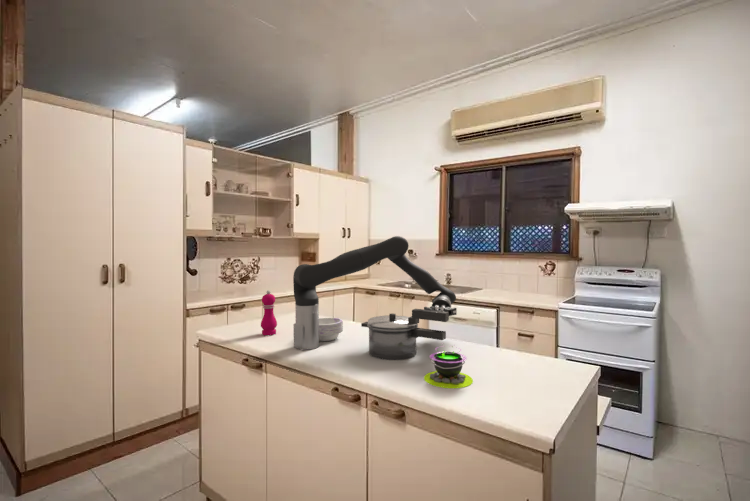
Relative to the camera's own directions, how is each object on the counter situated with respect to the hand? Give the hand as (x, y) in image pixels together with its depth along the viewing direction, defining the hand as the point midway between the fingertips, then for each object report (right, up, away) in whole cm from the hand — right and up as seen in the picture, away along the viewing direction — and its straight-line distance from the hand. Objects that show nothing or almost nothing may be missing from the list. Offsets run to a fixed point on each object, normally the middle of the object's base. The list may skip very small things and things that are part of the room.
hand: (438, 315), depth 140 cm
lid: (-11, -4, +5) cm, 13 cm away
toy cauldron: (0, -17, -19) cm, 26 cm away
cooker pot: (-13, -16, +6) cm, 21 cm away
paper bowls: (-45, -15, +30) cm, 56 cm away
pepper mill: (-71, -15, +38) cm, 82 cm away
